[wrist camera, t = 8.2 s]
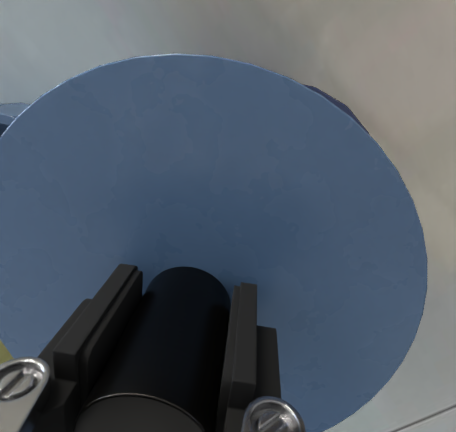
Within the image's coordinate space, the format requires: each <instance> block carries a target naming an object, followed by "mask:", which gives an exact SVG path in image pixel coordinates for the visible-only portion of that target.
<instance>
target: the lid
mask: <svg viewBox="0 0 456 432" xmlns="http://www.w3.org/2000/svg"><path fill="white" fill-rule="evenodd" d="M119 264H128V265H134V266H137V267H138V271H142V272H143V288H142V299H141V300H140V302H139V304H138V306H137V308H136V310H135V311H134V313H133V315H132V317H131V319H130V320H129V322H128V324H127V326H126V328H125V330H124V331H123V333H122V335H121V337H120V339H119V341H118V342H117V344H116V346H115V348H114V350H113V352H112V353H111V355H110V357H109V359H108V361H107V363H106V364H105V366H104V368H103V370H102V372H101V374H100V375H99V377H98V379H97V381H96V383H95V385H94V386H93V388H92V390H91V392H90V394H89V396H88V397H87V399H86V401H85V403H84V405H83V406H82V408H81V410H80V412H79V414H78V416H77V418H76V420H75V424H74V432H215V429H216V416H217V408H218V401H219V393H220V385H221V377H222V369H223V362H224V354H225V346H226V338H227V330H228V322H229V315H230V308H231V302H232V296H233V289H234V285H235V286H240V285H241V282H244V283H250V284H257V325H258V326H264V327H271V328H276V331H277V343H278V357H279V371H280V385H281V399H283V400H285V401H286V402H288V403H289V404H291V405H292V406H293V407H294V408H295V409H296V410H297V411H298V412H299V414H300V416H301V418H302V419H303V421H304V425H305V431H306V432H323V431H325V430H327V429H329V428H331V427H333V426H335V425H336V424H338V423H340V422H341V421H343V420H344V419H346V418H347V417H349V416H351V415H352V414H354V413H355V412H356V411H357V410H359V409H360V408H361V407H362V406H364V405H365V404H366V403H367V402H368V401H370V400H371V399H372V398H373V397H374V396H375V395H376V394H377V393H378V392H379V391H380V390H381V389H382V388H383V386H384V385H385V384H386V383H387V382H388V381H389V380H390V378H391V377H392V376H393V374H394V373H395V371H396V370H397V369H398V367H399V366H400V364H401V363H402V362H403V360H404V358H405V356H406V354H407V352H408V350H409V348H410V346H411V344H412V343H413V341H414V339H415V336H416V333H417V330H418V327H419V324H420V321H421V318H422V315H423V310H424V304H425V298H426V292H427V254H426V247H425V241H424V235H423V229H422V226H421V223H420V220H419V217H418V214H417V211H416V208H415V205H414V202H413V199H412V197H411V195H410V193H409V191H408V190H407V188H406V186H405V184H404V182H403V180H402V178H401V176H400V174H399V172H398V170H397V169H396V168H395V166H394V165H393V164H392V162H391V161H390V160H389V158H388V157H387V155H386V154H385V153H384V151H383V150H382V149H381V147H380V146H379V145H378V143H377V142H376V141H375V140H374V139H373V138H372V137H371V136H370V135H369V134H368V133H367V132H366V131H365V130H364V129H363V128H362V127H361V126H360V125H359V124H358V123H357V122H356V121H355V120H354V119H353V118H352V117H350V116H349V115H348V114H346V113H345V112H344V111H342V110H341V109H340V108H338V107H337V106H336V105H334V104H333V103H332V102H330V101H329V100H327V99H326V98H325V97H323V96H322V95H320V94H319V93H317V92H315V91H313V90H311V89H309V88H307V87H305V86H304V85H302V84H300V83H298V82H296V81H294V80H292V79H291V78H289V77H286V76H284V75H281V74H278V73H275V72H273V71H270V70H267V69H264V68H262V67H259V66H256V65H253V64H251V63H246V62H241V61H236V60H231V59H227V58H222V57H217V56H211V55H195V54H178V53H171V54H159V55H148V56H137V57H132V58H128V59H124V60H120V61H116V62H112V63H108V64H104V65H100V66H98V67H95V68H93V69H90V70H88V71H86V72H83V73H81V74H78V75H76V76H74V77H71V78H69V79H67V80H66V81H64V82H62V83H61V84H59V85H58V86H56V87H54V88H53V89H51V90H49V91H48V92H46V93H45V94H43V95H41V96H40V97H39V98H38V99H37V100H35V101H34V102H33V103H32V104H31V105H30V106H29V107H28V108H26V109H25V110H24V111H23V112H22V113H21V114H20V115H18V116H17V117H16V119H15V120H14V121H13V122H12V124H11V125H10V126H9V127H8V128H7V130H6V131H5V132H4V133H3V135H2V136H1V137H0V340H1V341H2V343H3V344H4V346H5V347H6V348H7V350H8V351H9V353H10V354H11V356H12V357H13V358H14V359H15V358H19V357H29V356H32V357H38V356H39V354H40V353H41V352H42V351H43V349H44V348H45V347H46V346H47V344H48V343H49V342H50V341H51V339H52V338H53V337H54V336H55V335H56V333H57V332H58V331H59V330H60V328H61V327H62V326H63V325H64V323H65V322H66V321H67V320H68V319H69V317H70V316H71V315H72V314H73V312H74V311H75V310H76V309H77V307H78V306H79V305H80V304H81V302H82V301H84V300H85V299H87V298H89V299H93V297H94V296H95V295H96V293H97V292H98V291H99V290H100V288H101V287H102V286H103V284H104V283H105V282H106V281H107V279H108V278H109V277H110V275H111V274H112V273H113V271H114V270H115V269H116V268H117V266H118V265H119Z"/></svg>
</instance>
